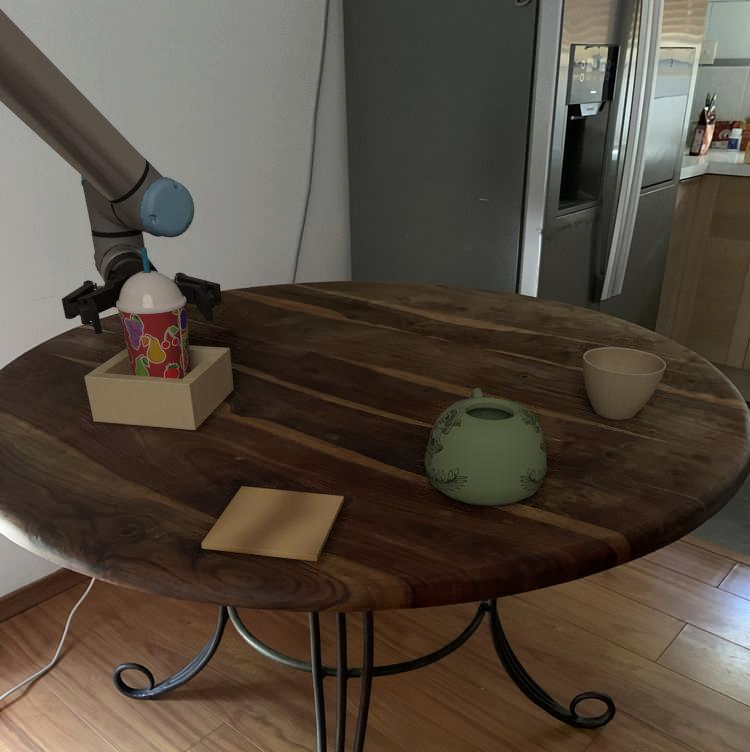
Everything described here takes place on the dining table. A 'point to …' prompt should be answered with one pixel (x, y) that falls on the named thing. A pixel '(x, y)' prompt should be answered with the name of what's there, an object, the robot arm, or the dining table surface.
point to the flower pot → (620, 380)
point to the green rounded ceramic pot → (486, 452)
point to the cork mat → (275, 523)
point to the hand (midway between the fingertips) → (154, 316)
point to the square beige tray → (160, 391)
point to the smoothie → (155, 324)
